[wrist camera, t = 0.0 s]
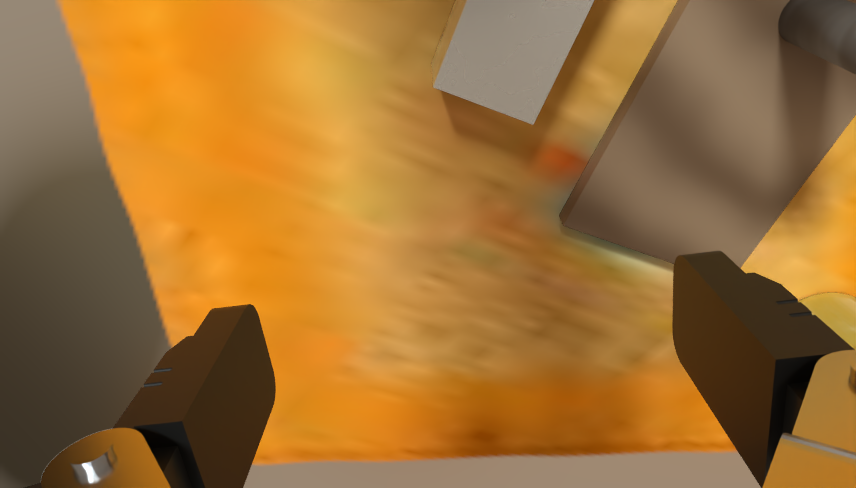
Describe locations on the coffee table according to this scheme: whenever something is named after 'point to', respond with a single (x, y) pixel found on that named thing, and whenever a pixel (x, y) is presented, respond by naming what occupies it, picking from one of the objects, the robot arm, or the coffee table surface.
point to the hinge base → (720, 127)
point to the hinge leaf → (506, 51)
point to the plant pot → (835, 313)
